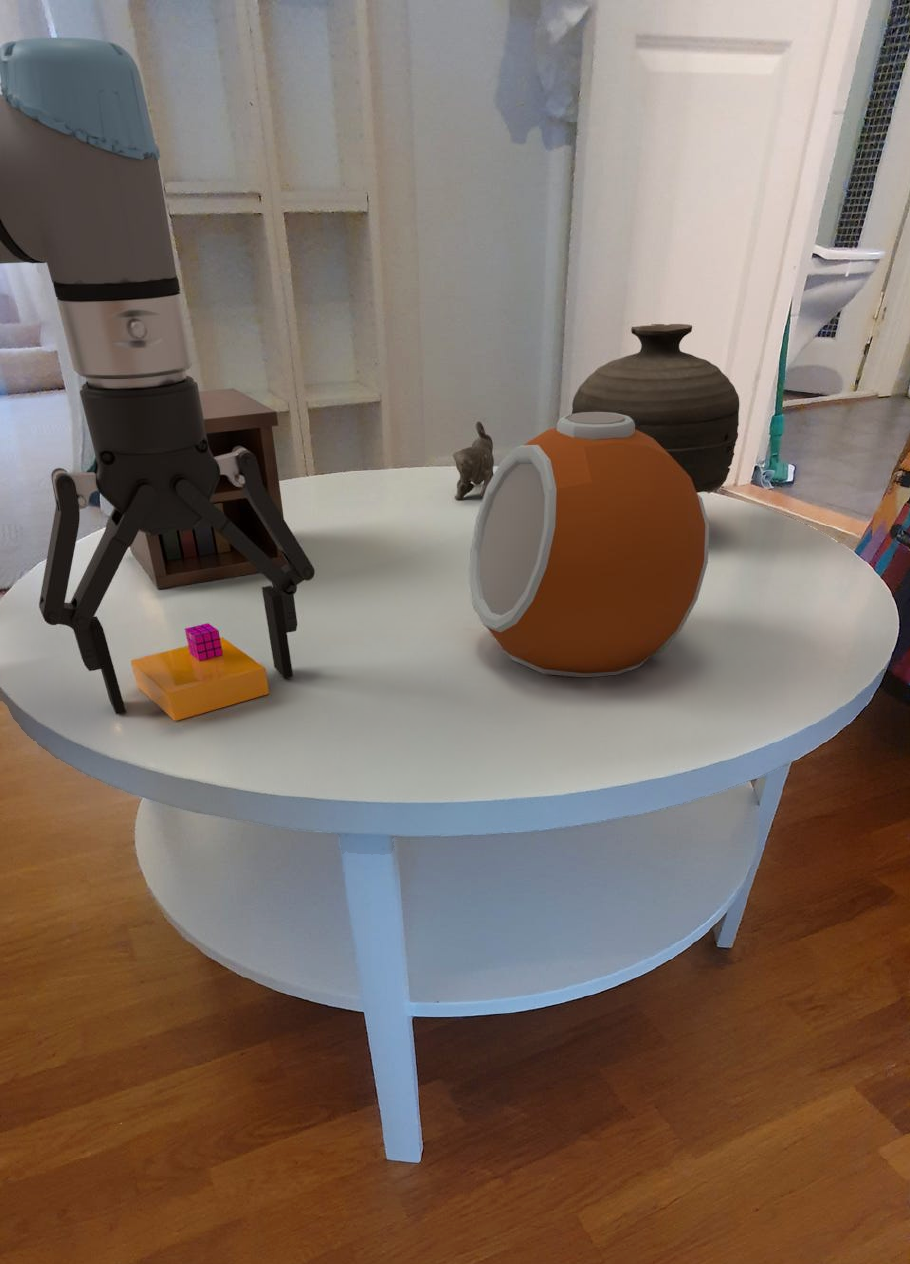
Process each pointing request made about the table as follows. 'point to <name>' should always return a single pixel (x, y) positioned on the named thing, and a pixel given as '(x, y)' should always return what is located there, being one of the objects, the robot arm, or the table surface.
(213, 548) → the bookcase
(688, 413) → the pot
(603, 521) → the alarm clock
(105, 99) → the robot arm
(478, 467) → the grey cat figurine
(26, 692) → the table surface
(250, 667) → the orange slab with cube
